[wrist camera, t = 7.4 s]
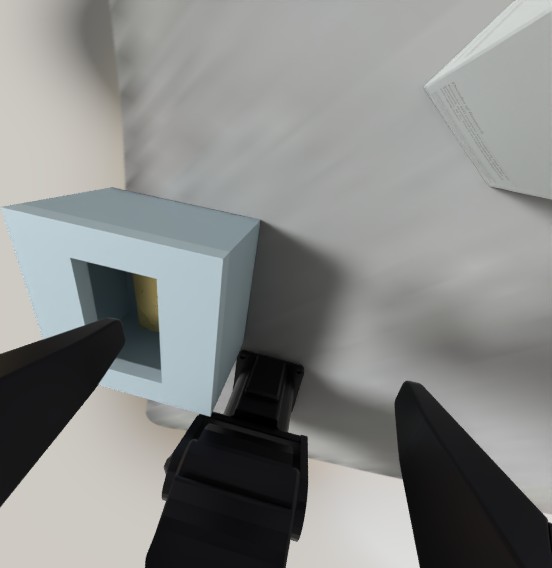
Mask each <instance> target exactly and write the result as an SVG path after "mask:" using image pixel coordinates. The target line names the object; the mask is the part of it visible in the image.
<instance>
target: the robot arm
mask: <svg viewBox="0 0 552 568" xmlns="http://www.w3.org/2000/svg"><path fill="white" fill-rule="evenodd" d="M125 340H126V339H125V333H124V329H123V324H122V322H121V320H119V319H115V318H109V317H108V318H104V319H101V320H98V321H95V322H92V323H89V324H87V325H84V326H81V327H78V328H75V329H72V330H69V331H66V332H63V333H60V334H57V335H54V336H52V337H49V338H46V339H43V340H40V341H37V342H34V343H31V344H28V345H25V346H22V347H20V348H17V349H14V350H11V351H8V352H5V353H2V354H0V507H1V506H2V505H3V503H4V502H5V501H6V499H7V498H8V497H9V496H10V495H11V493H12V492H13V491H14V490H15V488H16V487H17V486H18V485H19V483H20V482H21V481H22V479H23V478H24V477H25V476H26V475H27V473H28V472H29V471H30V470H31V468H32V467H33V466H34V465H35V463H36V462H37V461H38V460H39V458H40V457H41V456H42V455H43V453H44V452H45V451H46V450H47V449H48V447H49V446H50V445H51V444H52V442H53V441H54V440H55V439H56V437H57V436H58V435H59V434H60V432H61V431H62V430H63V429H64V427H65V426H66V425H67V424H68V422H69V421H70V420H71V419H72V417H73V416H74V415H75V414H76V412H77V411H78V410H79V409H80V407H81V406H82V405H83V404H84V402H85V401H86V400H87V399H88V397H89V396H90V395H91V394H92V392H93V391H94V390H95V388H96V387H97V386H98V384H99V383H100V381H101V380H102V379H103V377H104V375H105V374H106V372H107V371H108V369H109V368H110V366H111V365H112V363H113V362H114V360H115V359H116V357H117V356H118V354H119V353H120V351H121V350H122V348H123V347H124V344H125ZM242 355H243V356H244V357H243V356H242ZM298 370H300V371H298ZM303 375H304V367H303V366H301V365H297V364H293V363H290V362H286V361H282V360H278V359H274V358H270V357H266V356H263V355H259V354H255V353H251V352H247V351H240V352H239V354H238V356H237V364H236V371H235V379H234V386H233V392H232V394H231V397H230V399H229V402H228V404H227V407H226V409H225V412H224V414H220V413H217V412H212V414H211V416H206V415H203V414H199V416H198V415H197V417H196V418H195V420H194V421H193V423H192V424H191V426H190V427H189V429H188V430H187V432H186V434H185V435H184V437H183V438H182V440H181V441H180V443H179V444H178V446H177V447H176V449H175V450H174V452H173V453H172V455H171V456H170V457H169V458H168V459H167V460H166V463H165V465H164V470H165V473H166V478H165V481H164V485H163V490H162V499H163V500H165V501H166V503H165V506H164V509H163V512H162V515H161V518H160V521H159V524H158V527H157V530H156V533H155V535H154V538H153V541H152V543H151V545H150V548H149V550H148V553H147V556H146V561H145V568H286V562H287V556H288V550H289V544H290V540H293V541H296V542H297V541H298V540H299V538H300V535H301V531H302V527H303V522H304V517H305V510H306V502H307V492H308V437H307V436H304V435H300V436H299V435H296V434H292V433H288V429H289V422H290V415H291V412H292V411H293V407H294V404H295V401H296V397H297V394H298V391H299V388H300V384H301V381H302V378H303ZM395 418H396V429H397V441H398V452H399V461H400V467H401V473H402V478H403V483H404V488H405V493H406V498H407V503H408V509H409V514H410V519H411V524H412V529H413V534H414V540H415V545H416V550H417V555H418V560H419V565H420V568H552V523H549V522H548V519H547V518H546V517H545V516H544V515H543V513H542V512H541V511H540V510H539V509H538V508H537V507H536V506H535V505H534V504H533V503H532V502H531V501H530V500H529V499H528V497H527V496H526V495H525V494H524V493H523V492H522V491H521V490H520V489H519V488H518V487H517V486H516V485H515V484H514V483H513V481H512V480H511V479H510V478H509V477H508V476H507V475H506V474H505V473H504V472H503V471H502V470H501V469H500V468H499V467H498V465H497V464H496V463H495V462H494V461H493V460H492V459H491V458H490V457H489V456H488V455H487V454H486V453H485V452H484V451H483V449H482V448H481V447H480V446H479V445H478V444H477V443H476V442H475V441H474V440H473V439H472V438H471V437H470V436H469V435H468V433H467V432H466V431H465V430H464V429H463V428H462V427H461V426H460V425H459V424H458V423H457V422H456V421H455V420H454V418H453V417H452V416H451V415H450V414H449V413H448V412H447V411H446V410H445V409H444V408H443V407H442V406H441V405H440V404H439V402H438V401H437V400H436V399H435V398H434V397H433V396H432V395H431V394H430V393H429V392H428V391H427V390H426V389H425V388H424V386H423V385H421V384H420V383H416V382H412V381H405V382H404V383H403V385H402V387H401V389H400V391H399V393H398V395H397V397H396V399H395Z"/></svg>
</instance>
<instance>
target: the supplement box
mask: <svg viewBox="0 0 552 568" xmlns="http://www.w3.org/2000/svg"><path fill="white" fill-rule="evenodd" d="M424 89H425V90H426V92H427V93H428V95H429V97H430V98H431V100H432V101H433V103H434V104H435V106H436V107H437V109H438V110H439V112H440V113H441V115H442V116H443V118H444V119H445V121H446V122H447V124H448V126H449V127H450V129H451V130H452V132H453V133H454V135H455V136H456V138H457V139H458V141H459V143H460V144H461V146H462V147H463V149H464V150H465V152H466V153H467V154H468V156H469V158H470V159H471V161H472V162H473V164H474V165H475V166H476V168H477V169H478V171H479V173H480V174H481V176H482V177H483V179H484V180H485V182H486V183H487V185H488V186H490V187H494V188H500V189H505V190H509V191H513V192H518V193H523V194H527V195H532V196H537V197H542V198H546V199H551V200H552V0H515V1H514V2H513V3H512V4H510V5H509V6H508V7H507V8H506V9H505V10H504V11H503V12H502V13H501V14H500V15H499V16H497V17H496V18H495V19H494V20H493V21H492V22H491V23H490V24H489V25H488V26H487V27H486V28H485V29H484V30H483V31H482V32H481V33H480V34H478V35H477V36H476V37H475V38H474V39H473V40H472V41H471V42H470V43H469V44H468V45H467V46H466V47H465V48H464V49H463V50H462V51H461V52H460V53H459V54H457V55H456V56H455V57H454V58H453V59H452V60H451V61H450V62H449V63H448V64H447V65H446V66H445V67H444V68H443V69H442V70H441V71H440V72H439V73H438V74H437V75H436V76H435V77H433V78H432V79H431V80H430V81H429V82H428V83H427V84H426V85H425V88H424Z"/></svg>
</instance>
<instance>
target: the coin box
mask: <svg viewBox="0 0 552 568" xmlns="http://www.w3.org/2000/svg"><path fill="white" fill-rule="evenodd" d="M1 210H2V213H3V216H4V219H5V222H6V226H7V229H8V232H9V235H10V238H11V241H12V244H13V247H14V251H15V254H16V257H17V260H18V263H19V266H20V269H21V272H22V276H23V279H24V282H25V285H26V288H27V291H28V294H29V297H30V301H31V304H32V307H33V310H34V313H35V316H36V319H37V322H38V325H39V328H40V332H41V335H42V338H43V339H46V338H49V337H52V336H54V335H57V334H60V333H63V332H66V331H69V330H72V329H75V328H78V327H81V326H84V325H87V324H89V323H92V322H95V321H98V320H101V319H104V318H108V317H109V318H115V319H119V320H121V322H122V324H123V329H124V333H125V339H126V340H125V344H124V347H123V348H122V350H121V351H120V353H119V354H118V356H117V357H116V359H115V360H114V362H113V363H112V365H111V366H110V368H109V369H108V371H107V372H106V374H105V375H104V377H103V379H102V380H101V381H100V383H99V384H98V385H100V386H104V387H107V388H111V389H114V390H118V391H122V392H125V393H129V394H132V395H135V396H139V397H142V398H146V399H150V400H153V401H157V402H160V403H164V404H167V405H171V406H174V407H178V408H181V409H185V410H189V411H192V412H196V413H199V414H203V415H206V416H211V414H212V412H213V410H214V407H215V405H216V403H217V401H218V398H219V396H220V394H221V392H222V389H223V387H224V385H225V383H226V380H227V378H228V376H229V374H230V371H231V369H232V367H233V365H234V362H235V360H236V358H237V356H238V353H239V351H240V349H241V347H242V344H243V341H244V334H245V327H246V320H247V313H248V306H249V299H250V292H251V285H252V278H253V271H254V264H255V257H256V250H257V243H258V236H259V229H260V222H261V220H259V219H254V218H250V217H245V216H241V215H236V214H231V213H227V212H222V211H218V210H213V209H208V208H204V207H199V206H195V205H190V204H186V203H181V202H176V201H172V200H167V199H163V198H158V197H154V196H149V195H144V194H140V193H135V192H131V191H126V190H121V189H117V188H106V189H100V190H94V191H89V192H83V193H78V194H72V195H66V196H61V197H56V198H49V199H44V200H39V201H33V202H27V203H22V204H16V205H10V206H4V207H1ZM132 273H135V274H139V275H143V276H147V277H151V278H156V279H157V295H158V314H159V332H156V331H152V330H147V329H143V328H140V324H139V317H138V310H137V303H136V296H135V289H134V282H133V275H132Z"/></svg>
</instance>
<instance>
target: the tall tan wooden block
mask: <svg viewBox="0 0 552 568" xmlns="http://www.w3.org/2000/svg"><path fill="white" fill-rule="evenodd" d="M132 275H133V282H134V289H135V296H136V303H137V310H138V317H139V324H140V328H143V329H147V330H152V331H156V332H159V314H158V295H157V279H156V278H151V277H147V276H143V275H139V274H135V273H132Z"/></svg>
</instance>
